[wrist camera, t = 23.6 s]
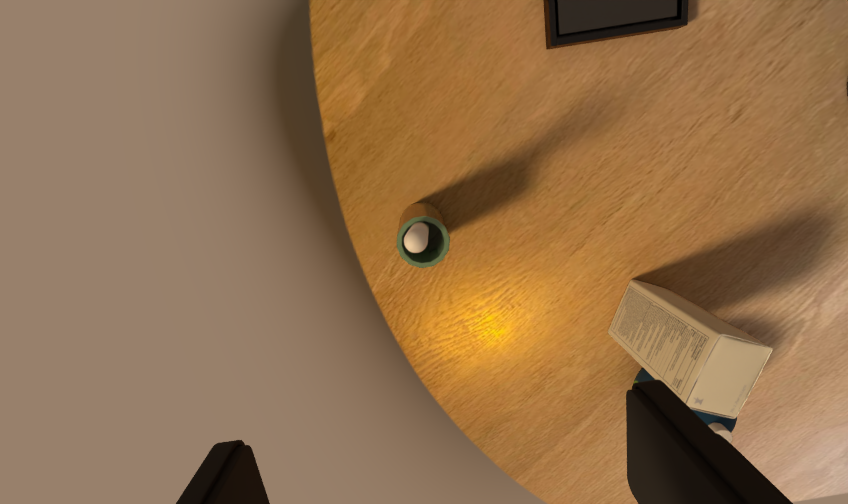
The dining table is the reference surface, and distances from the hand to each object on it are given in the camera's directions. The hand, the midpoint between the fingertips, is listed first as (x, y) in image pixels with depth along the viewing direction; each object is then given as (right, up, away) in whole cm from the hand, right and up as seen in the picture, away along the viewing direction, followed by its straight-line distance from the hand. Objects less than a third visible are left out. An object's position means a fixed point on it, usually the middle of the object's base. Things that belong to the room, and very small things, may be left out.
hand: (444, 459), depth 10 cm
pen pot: (-1, +8, +27) cm, 28 cm away
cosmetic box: (+21, -1, +30) cm, 37 cm away
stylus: (-1, +8, +27) cm, 28 cm away
